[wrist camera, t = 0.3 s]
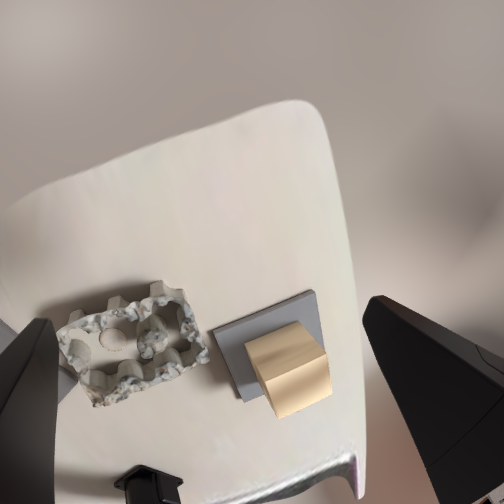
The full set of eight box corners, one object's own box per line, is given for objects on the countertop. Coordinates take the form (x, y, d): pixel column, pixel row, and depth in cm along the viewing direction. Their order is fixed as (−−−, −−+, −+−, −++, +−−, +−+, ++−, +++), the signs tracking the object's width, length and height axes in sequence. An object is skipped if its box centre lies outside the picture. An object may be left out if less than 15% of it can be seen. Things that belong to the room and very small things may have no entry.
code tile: (324, 361, 31) (327, 365, 30) (241, 398, 29) (243, 402, 28) (311, 289, 27) (315, 292, 26) (212, 330, 25) (214, 334, 25)
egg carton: (93, 378, 24) (89, 412, 20) (54, 306, 21) (41, 336, 17) (207, 348, 26) (218, 379, 22) (182, 269, 23) (190, 295, 19)
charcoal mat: (38, 423, 23) (37, 427, 22) (-34, 371, 19) (-36, 375, 18) (78, 378, 23) (77, 382, 22) (-5, 314, 19) (-8, 318, 18)
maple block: (306, 360, 29) (332, 393, 24) (258, 382, 28) (278, 419, 23) (298, 320, 27) (327, 353, 22) (244, 343, 26) (265, 382, 21)
